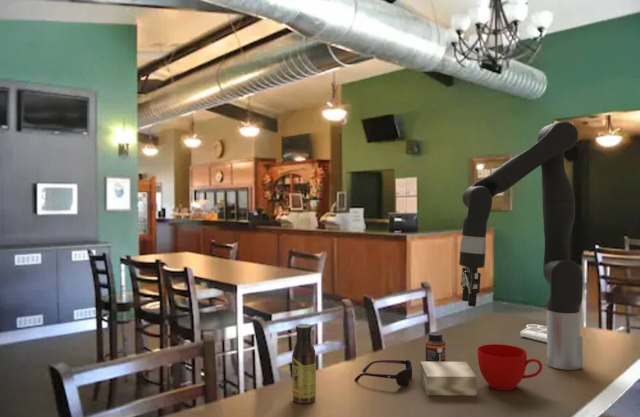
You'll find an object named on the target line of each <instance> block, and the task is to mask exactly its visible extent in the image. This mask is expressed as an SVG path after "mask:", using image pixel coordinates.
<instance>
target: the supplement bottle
mask: <svg viewBox="0 0 640 417" xmlns="http://www.w3.org/2000/svg"><path fill="white" fill-rule="evenodd" d="M446 355H447V354H446V341H444V340H443V333H441V332H438V331H437V332H436V331H435V332H433V331H431V332H429V333H428V339H427V340H426V341H425V362H447V361H446V360H447V358H446Z"/></svg>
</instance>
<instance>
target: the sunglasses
mask: <svg viewBox="0 0 640 417" xmlns="http://www.w3.org/2000/svg"><path fill="white" fill-rule="evenodd" d="M377 363H387V364H389V363H390V364H401V365H405V369H403V370H401V371H399V372H397V374H380V373H368V372H367V371H368V369H369V368H370V367H372V365H374V364H377ZM362 372H363V373H362ZM362 372H361V373H360V374H358V375H357V376H356V377H355V378H354V381H355V382H358V381H359V380H360V378H362V377H365V376H368V377H374V378H375V377H377V378H381V379H382V378H384V379H392V380H395V381H396V384H397V386H399V387H400V388H404V387H406V386H408V385H409V384H410V380H412V376H413V367H412V361H411V360H409V359H408V360H401V359H384V360H382V359H381V360H374V361H372V362H369V363H368V364H367V365H366V366H365V367H364V368H363V369H362ZM365 372H367V373H365Z"/></svg>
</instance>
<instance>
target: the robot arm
mask: <svg viewBox="0 0 640 417" xmlns="http://www.w3.org/2000/svg"><path fill="white" fill-rule="evenodd" d="M578 139H579V131H578V128H577V127H576V126H575V125H574V124H573V123H571V122H569V121H557V122H554V123H551V124H548V125H546V126H544V127H542V128H541V130H540V131H539V133H538V135H537V142H536V143H535V144H533V145H532V146H531V147H529V148H528V149H526V150H524V151H522V152H521V153H519V154H517V155H515V156H513V157H512V158H510V159H509V160H507V161H506V162H504V163H503V164H501V165H500V166H499V167H497V168H496V169H495V170H493V171H491V173H490V174H488V175H487V176H485V177H483V178H482V179H480V180H478V181H477V182H475V183H473V184H472V185H471V186H469V187H468V188H466V190H464V192H463V195H462V196H461V197H462V203H463V204H464V206H465V207H466V208H468V210H467V215H466V217H465V218H464V219H463V223H462V233H461V235H462V236H461V241H460V245H459V246H460V250H459V259H458V260H459V261H458V264H459V266H461V267H462V268H461V269H462V270H461V278H460V279H461V280H460V281H461V282H460V286H461V289H462V292H461V294H462V295H461V300H462V302H467V305H468V306H469V307H473V308H475V307H476V306H477V296H478V294H480V292H481V290H480V289H481V276H482V274H481V272H478V269H483V268H485V264H486V252H487V251H486V250H487V238H486V237H487V229H488V228H487V227H488V226H487V225H488V220H489V218H490V213H491V209H492V207H493V206H492V205H493V198H494V197H495V196H497V195H498V194H503V193H504V192H507V191H508V190H509V189H511V188H512V187H513V186H514V185H516V184H517V183H519V181H521V180H522V179H523V178H525V177H526V176H527V175H529V174H531V173H532V172H533V171H535V170H536V169H537V168H538V167H539V168H540V169H541V190H542V193H541V194H542V196H541V198H542V200H541V201H542V219H543V235H544V236H543V237H544V251H543V252H544V255H543V271H542V273H543V276H544V279H545V281H546V282H547V283H548V284H549V285H550V297H549V299H548V300H546V326H547V343H546V346H547V347H546V360H547V361H546V362H547V363H546V364H547V365H548V366H549V367H551V368H554V369H558V370H565V371H575V370H579V369H584V367H583V366H584V363H583V362H584V360H583V358H584V357H583V356H584V353H583V351H584V350H583V348H584V345H583V343H584V342H583V337H582V336H581V334H580V333H581V330H580V326H581V324H580V319H581V318H580V307H581V304H582V302H583V283H584V281H583V272H582V269H581V267H580V265H579V264H578V263H577V262H575V261H573V260H571V255H570V238H571V233H572V230H573V226H574V223H575V219H576V201H575V200H576V199H575V193H574V192H575V191H574V189H573V187H572V184H571V182H570V180H569V177H568V175H567V172H566V167H565V152H568V151H569V150H570V149H572V148H574V146H575V145H576V144H577V142H578Z"/></svg>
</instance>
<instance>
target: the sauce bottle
mask: <svg viewBox="0 0 640 417" xmlns="http://www.w3.org/2000/svg"><path fill="white" fill-rule="evenodd" d="M295 332H296V341H295V345H294V349H293V351H292V354H291V378H292V379H291V380H292V381H291V382H292V383H291V384H292V385H291V386H292V388H291V390H292V393H291V394H292V400H293V401H294V402H296V403H297V404H310V403H313V402H315V400H316V397H317V396H316V395H317V361H316V349H315V347H314V345H313V344H312V339H311V338H312V325H311V324H308V323H299V324H297V325H295Z"/></svg>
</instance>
